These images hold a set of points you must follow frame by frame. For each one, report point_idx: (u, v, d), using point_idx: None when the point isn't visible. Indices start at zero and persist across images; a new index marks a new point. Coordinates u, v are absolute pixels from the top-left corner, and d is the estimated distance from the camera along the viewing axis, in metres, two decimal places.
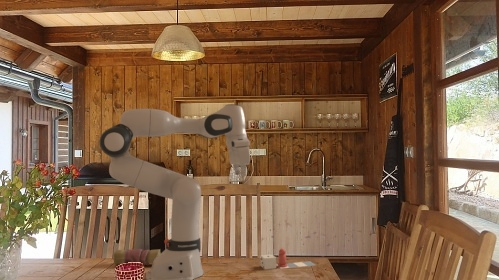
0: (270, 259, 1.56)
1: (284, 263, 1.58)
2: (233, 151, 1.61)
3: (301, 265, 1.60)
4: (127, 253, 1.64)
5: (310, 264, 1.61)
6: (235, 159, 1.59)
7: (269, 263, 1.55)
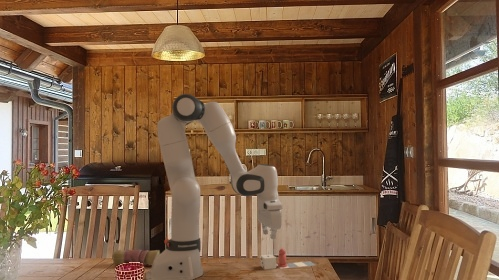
0: (270, 259, 1.56)
1: (284, 263, 1.58)
2: (263, 211, 1.59)
3: (301, 265, 1.60)
4: (126, 253, 1.64)
5: (310, 264, 1.61)
6: (265, 220, 1.57)
7: (269, 263, 1.55)
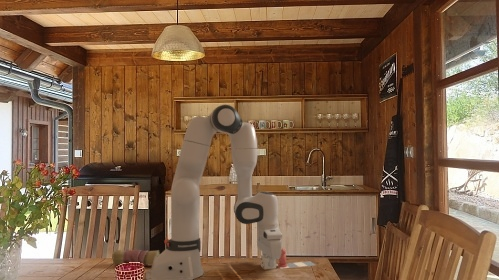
0: None
1: (284, 263, 1.58)
2: None
3: (301, 265, 1.60)
4: (126, 254, 1.64)
5: (310, 264, 1.61)
6: (265, 248, 1.56)
7: None
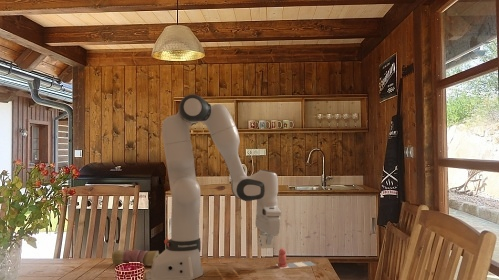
0: None
1: (284, 263, 1.58)
2: None
3: (301, 265, 1.60)
4: (125, 254, 1.64)
5: (310, 264, 1.61)
6: (263, 226, 1.57)
7: None
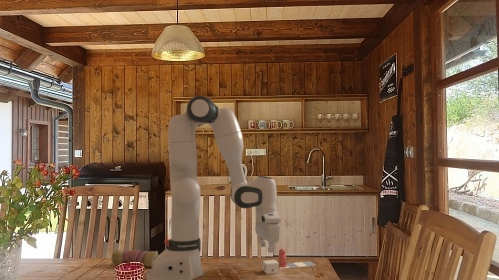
0: None
1: (284, 263, 1.58)
2: None
3: (301, 265, 1.60)
4: (125, 254, 1.64)
5: (310, 264, 1.61)
6: (263, 233, 1.55)
7: None
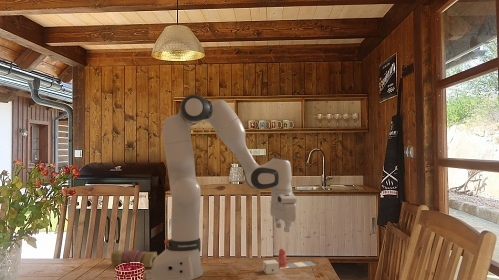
0: None
1: (284, 263, 1.58)
2: (277, 205, 1.60)
3: (301, 265, 1.60)
4: (124, 254, 1.63)
5: (310, 264, 1.61)
6: (279, 213, 1.58)
7: None
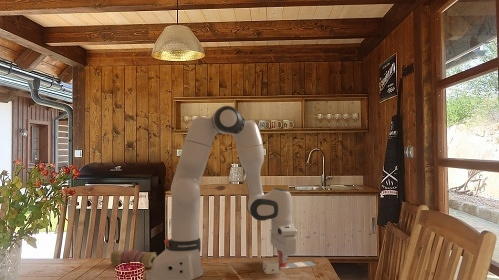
0: None
1: (284, 263, 1.58)
2: None
3: (301, 265, 1.60)
4: (123, 254, 1.63)
5: (310, 264, 1.61)
6: (279, 245, 1.58)
7: None
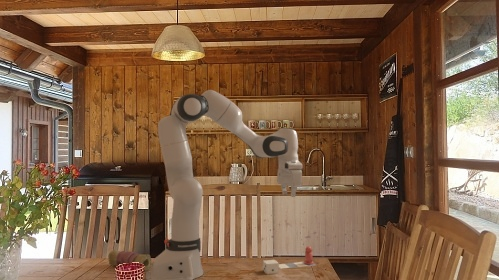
0: None
1: (311, 261, 1.61)
2: (284, 172, 1.70)
3: (301, 265, 1.60)
4: (119, 255, 1.62)
5: None
6: (286, 180, 1.68)
7: None
